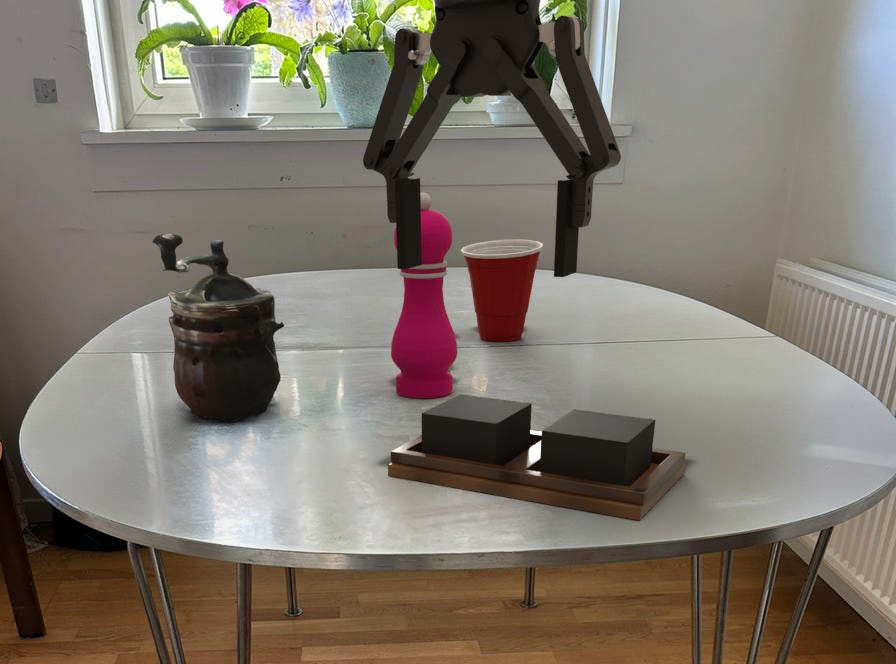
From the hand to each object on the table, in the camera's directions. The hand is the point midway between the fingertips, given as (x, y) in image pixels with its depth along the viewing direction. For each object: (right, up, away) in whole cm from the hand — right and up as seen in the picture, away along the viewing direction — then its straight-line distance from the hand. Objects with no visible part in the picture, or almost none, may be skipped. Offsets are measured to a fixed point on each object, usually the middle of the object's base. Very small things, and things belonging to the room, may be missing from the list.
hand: (484, 271), depth 75 cm
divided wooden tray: (+5, -15, +5) cm, 17 cm away
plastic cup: (+6, +12, +55) cm, 57 cm away
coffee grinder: (-25, -6, +22) cm, 34 cm away
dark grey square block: (0, -13, +7) cm, 15 cm away
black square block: (+9, -16, +3) cm, 18 cm away
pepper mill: (-4, -2, +30) cm, 31 cm away
